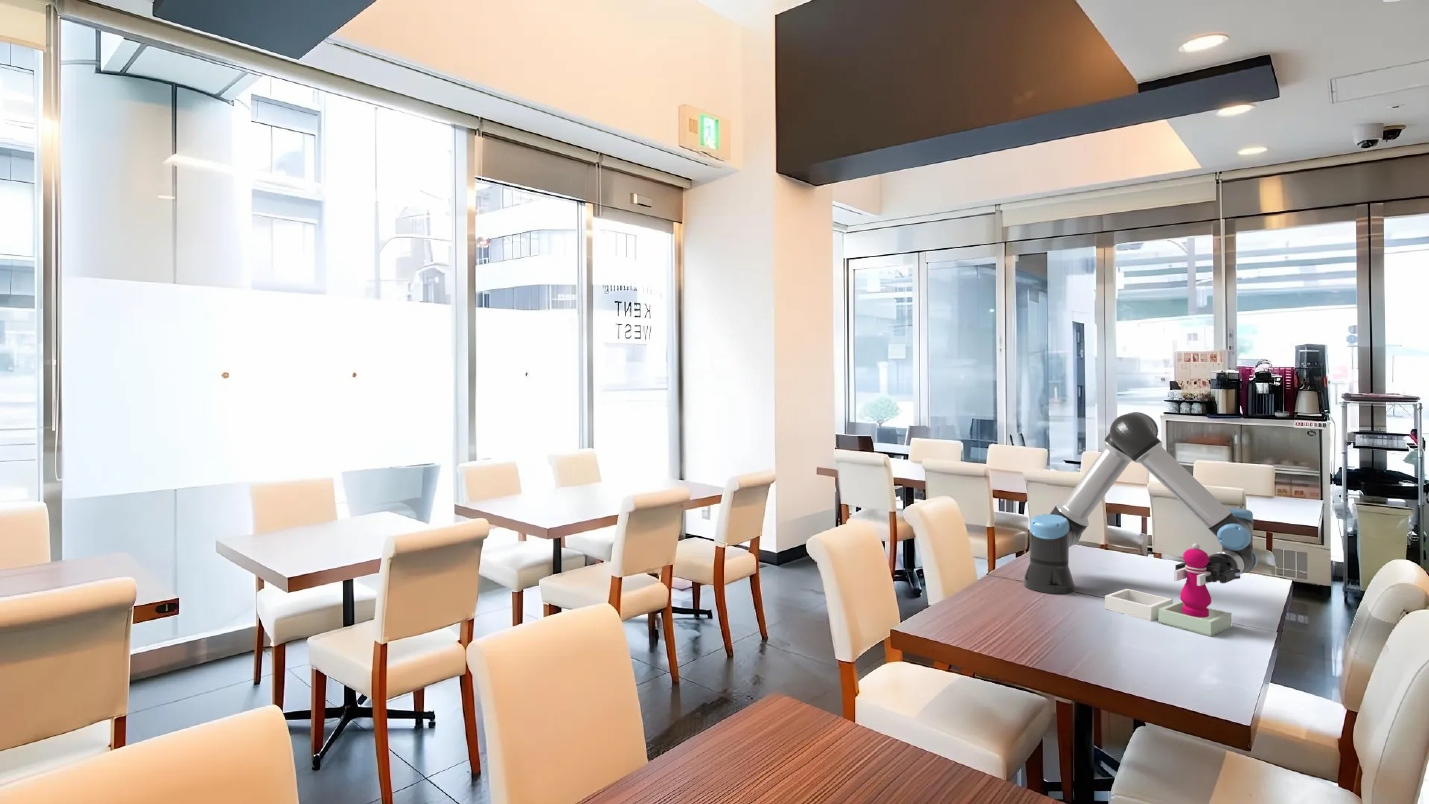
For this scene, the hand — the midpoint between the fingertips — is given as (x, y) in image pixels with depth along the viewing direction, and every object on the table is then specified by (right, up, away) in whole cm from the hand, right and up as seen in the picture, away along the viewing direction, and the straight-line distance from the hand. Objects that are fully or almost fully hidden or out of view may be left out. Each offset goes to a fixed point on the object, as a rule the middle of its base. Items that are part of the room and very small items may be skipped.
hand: (1187, 578), depth 194 cm
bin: (-4, -14, +16) cm, 21 cm away
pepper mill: (+4, -11, +3) cm, 12 cm away
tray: (+4, -14, +3) cm, 15 cm away
